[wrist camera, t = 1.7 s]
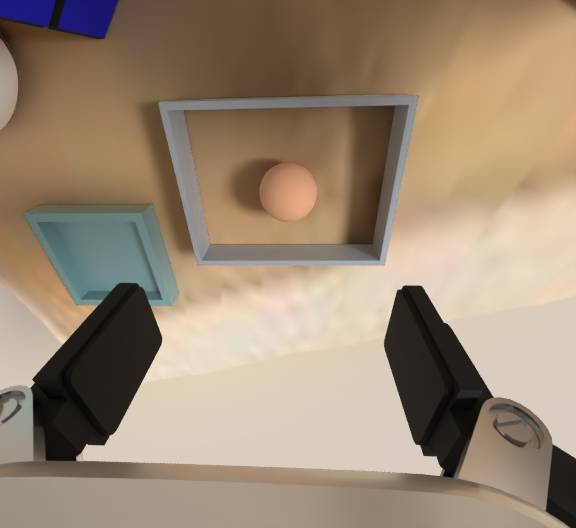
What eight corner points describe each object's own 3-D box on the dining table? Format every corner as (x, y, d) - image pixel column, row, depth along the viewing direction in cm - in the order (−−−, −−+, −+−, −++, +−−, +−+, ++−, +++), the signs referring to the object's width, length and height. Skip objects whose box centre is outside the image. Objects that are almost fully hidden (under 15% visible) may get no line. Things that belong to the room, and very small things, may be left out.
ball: (316, 155, 23) (319, 170, 19) (314, 208, 25) (317, 231, 22) (260, 156, 23) (253, 171, 19) (264, 209, 26) (258, 231, 22)
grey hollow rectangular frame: (403, 93, 20) (418, 95, 18) (376, 248, 27) (384, 265, 25) (174, 99, 21) (157, 102, 18) (206, 248, 28) (197, 265, 26)
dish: (151, 203, 26) (141, 212, 24) (179, 293, 31) (172, 305, 30) (41, 204, 26) (22, 213, 24) (88, 292, 32) (76, 305, 30)
